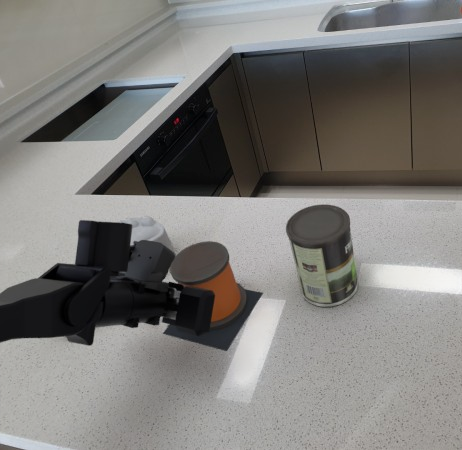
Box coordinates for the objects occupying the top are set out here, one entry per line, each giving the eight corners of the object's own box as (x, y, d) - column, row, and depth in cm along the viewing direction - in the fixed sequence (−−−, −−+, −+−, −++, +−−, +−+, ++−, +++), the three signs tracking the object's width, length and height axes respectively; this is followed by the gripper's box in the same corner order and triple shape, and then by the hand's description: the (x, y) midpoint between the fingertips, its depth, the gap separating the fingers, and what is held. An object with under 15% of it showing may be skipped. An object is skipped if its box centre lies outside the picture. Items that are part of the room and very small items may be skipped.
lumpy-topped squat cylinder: (141, 286, 90) (123, 252, 85) (108, 263, 98) (90, 231, 92) (182, 255, 95) (168, 222, 90) (148, 235, 103) (133, 204, 98)
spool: (210, 341, 76) (189, 295, 69) (175, 310, 83) (153, 266, 76) (260, 301, 81) (245, 254, 74) (223, 275, 88) (207, 231, 81)
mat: (226, 350, 74) (226, 350, 74) (162, 333, 79) (162, 333, 79) (262, 293, 83) (262, 292, 82) (203, 281, 88) (203, 280, 88)
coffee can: (355, 262, 85) (347, 200, 76) (360, 304, 77) (352, 239, 68) (300, 269, 86) (286, 208, 77) (300, 310, 78) (284, 247, 69)
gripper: (185, 251, 56) (248, 258, 71) (77, 232, 64) (153, 242, 78) (169, 342, 56) (236, 331, 70) (62, 312, 63) (142, 307, 77)
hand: (190, 299), depth 74 cm, fingers closed
